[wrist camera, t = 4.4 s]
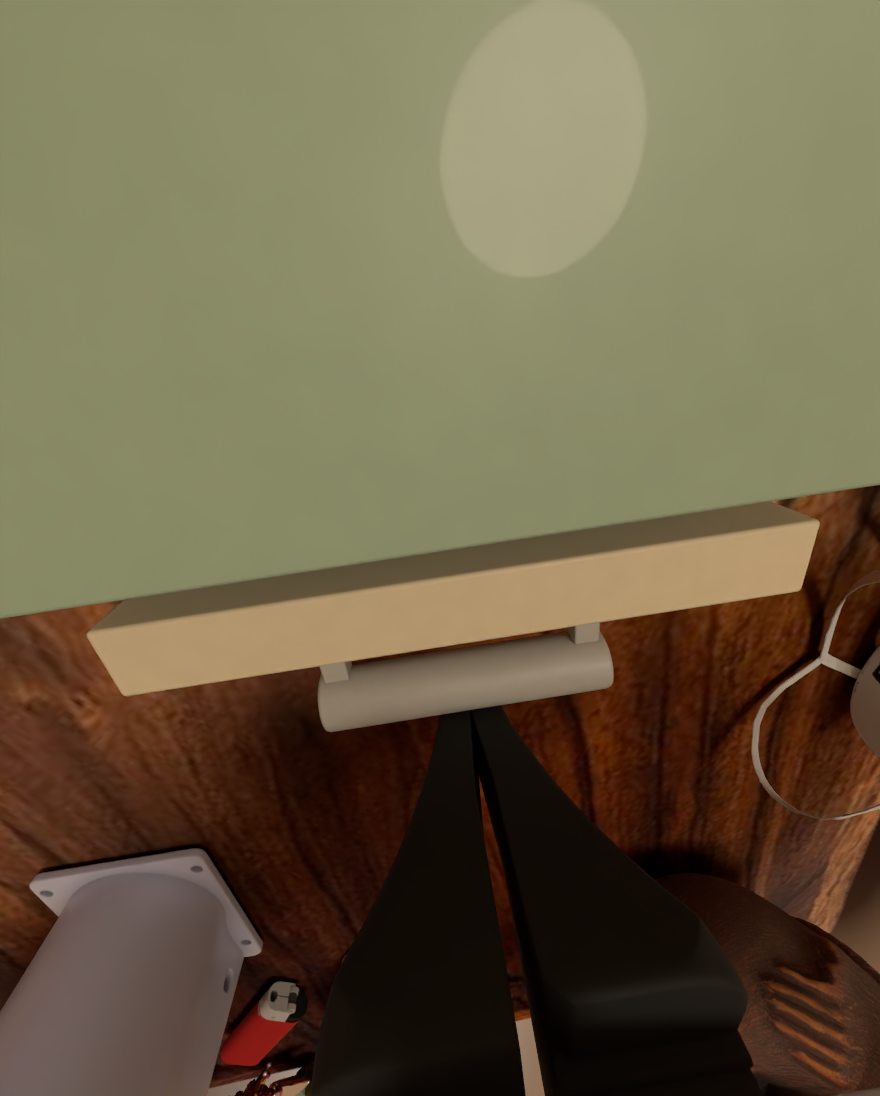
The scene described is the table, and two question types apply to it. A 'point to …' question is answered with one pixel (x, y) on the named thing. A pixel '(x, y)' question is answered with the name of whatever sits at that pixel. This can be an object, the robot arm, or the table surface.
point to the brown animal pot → (792, 991)
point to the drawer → (455, 615)
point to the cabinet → (422, 277)
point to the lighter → (265, 1025)
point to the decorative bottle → (281, 1084)
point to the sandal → (872, 702)
